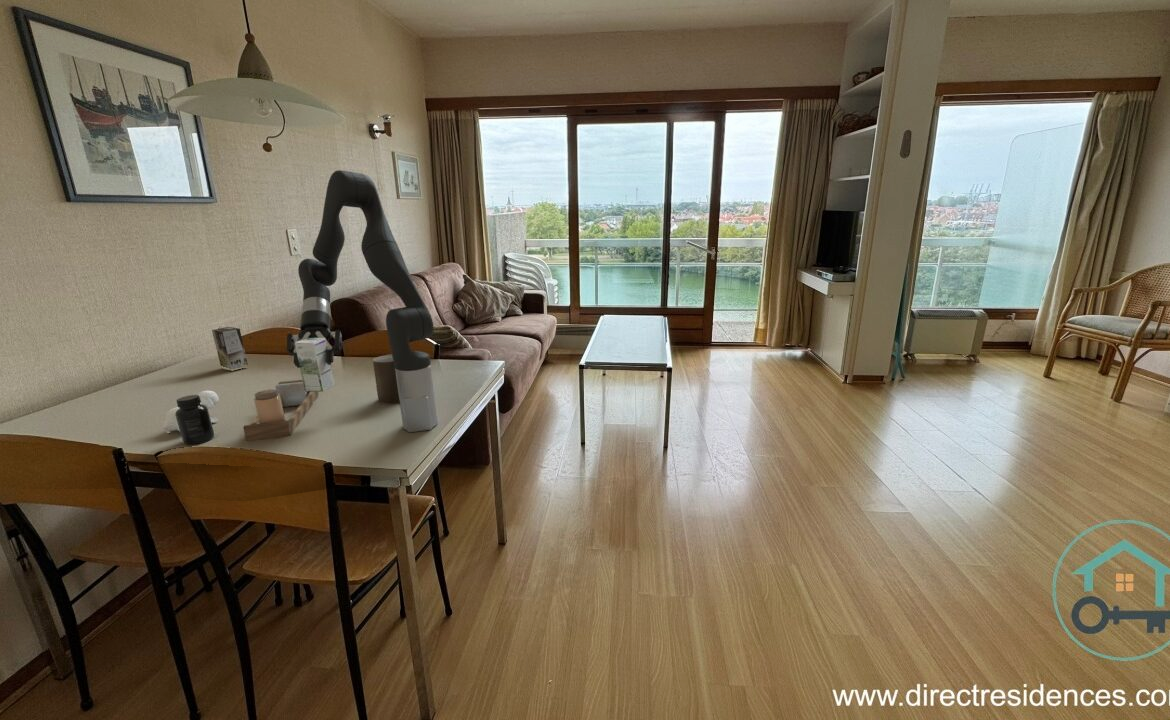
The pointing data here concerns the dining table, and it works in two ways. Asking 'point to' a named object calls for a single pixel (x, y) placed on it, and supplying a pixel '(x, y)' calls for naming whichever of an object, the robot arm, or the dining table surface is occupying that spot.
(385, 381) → the pillar candle
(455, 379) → the dining table surface
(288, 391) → the grey box
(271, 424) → the wooden tray
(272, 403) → the jar
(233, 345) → the coffee box
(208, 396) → the white rounded figurine
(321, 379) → the syrup box
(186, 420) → the supplement bottle
